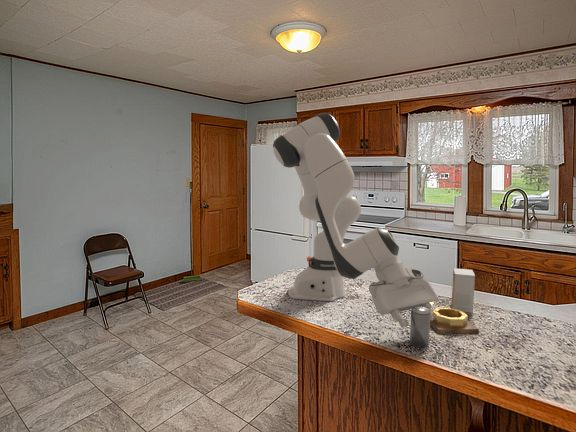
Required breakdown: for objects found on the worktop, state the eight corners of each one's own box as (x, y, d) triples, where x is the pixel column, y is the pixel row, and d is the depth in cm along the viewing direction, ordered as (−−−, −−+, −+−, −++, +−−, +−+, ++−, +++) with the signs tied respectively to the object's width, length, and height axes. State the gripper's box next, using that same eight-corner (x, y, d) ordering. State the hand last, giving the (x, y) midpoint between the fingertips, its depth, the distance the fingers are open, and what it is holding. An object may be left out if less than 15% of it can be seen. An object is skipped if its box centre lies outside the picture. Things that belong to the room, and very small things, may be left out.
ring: (441, 327, 107) (441, 319, 107) (428, 315, 116) (428, 307, 116) (471, 327, 107) (472, 319, 107) (456, 315, 116) (457, 307, 116)
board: (438, 333, 106) (438, 329, 105) (422, 317, 117) (422, 313, 117) (478, 333, 106) (479, 329, 106) (458, 316, 118) (459, 313, 118)
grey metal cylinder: (413, 347, 97) (415, 312, 96) (407, 339, 102) (408, 306, 101) (431, 347, 97) (433, 312, 96) (424, 338, 102) (426, 305, 101)
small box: (451, 302, 131) (453, 267, 129) (470, 305, 128) (473, 269, 127) (452, 310, 123) (454, 273, 122) (473, 313, 121) (475, 275, 119)
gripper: (371, 278, 100) (395, 325, 92) (426, 270, 108) (451, 312, 101) (361, 289, 104) (382, 335, 96) (414, 280, 113) (437, 322, 105)
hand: (418, 323), depth 99 cm, fingers open, 8 cm apart
